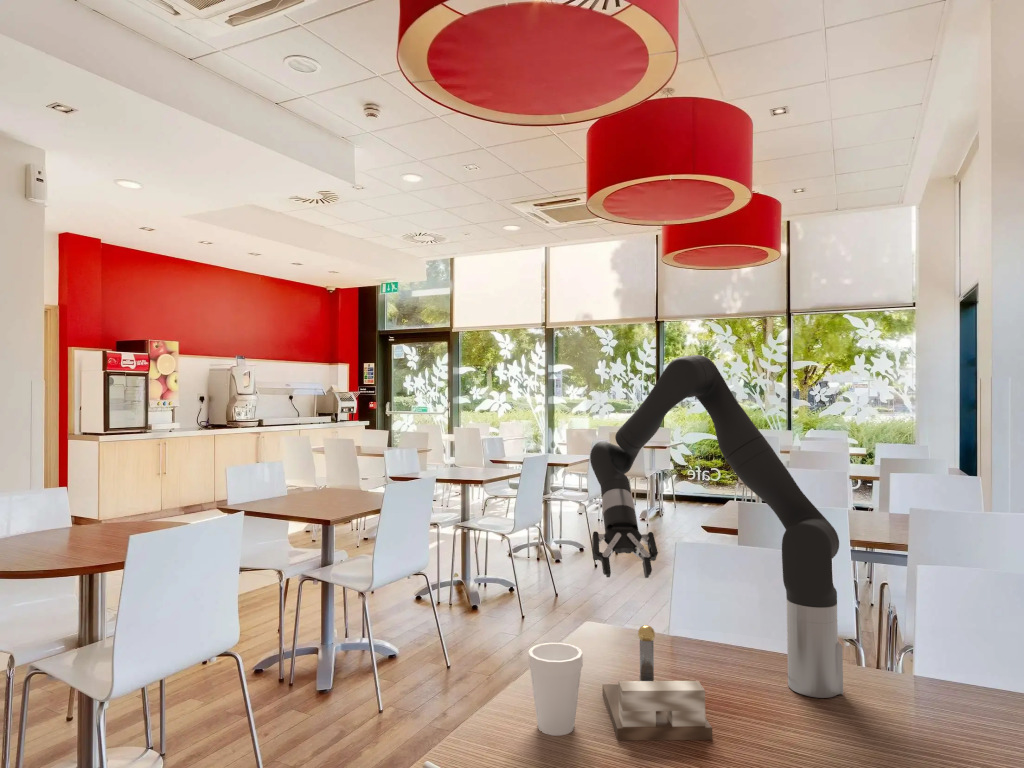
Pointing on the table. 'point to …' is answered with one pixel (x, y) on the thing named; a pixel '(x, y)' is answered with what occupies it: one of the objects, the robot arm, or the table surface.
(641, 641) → the gold knob lever
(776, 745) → the table surface
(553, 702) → the foam cup
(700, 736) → the board
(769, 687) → the table surface
